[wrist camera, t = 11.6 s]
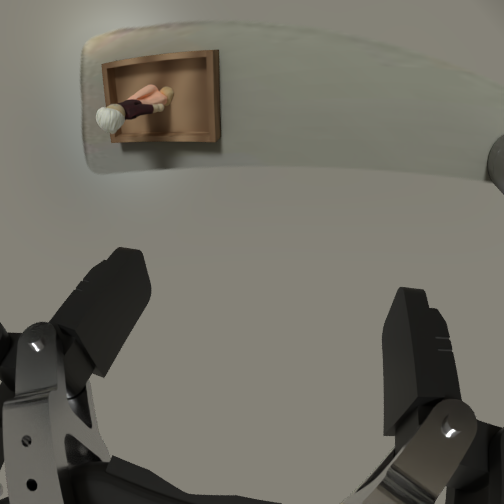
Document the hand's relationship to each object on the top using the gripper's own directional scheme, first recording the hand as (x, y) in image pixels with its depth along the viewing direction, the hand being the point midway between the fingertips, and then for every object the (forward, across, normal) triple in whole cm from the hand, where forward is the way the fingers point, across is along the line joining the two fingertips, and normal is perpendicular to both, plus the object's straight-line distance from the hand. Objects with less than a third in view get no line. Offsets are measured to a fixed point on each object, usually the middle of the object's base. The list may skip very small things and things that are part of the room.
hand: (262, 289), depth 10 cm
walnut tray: (+33, +20, -1) cm, 38 cm away
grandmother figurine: (+32, +21, -1) cm, 39 cm away
